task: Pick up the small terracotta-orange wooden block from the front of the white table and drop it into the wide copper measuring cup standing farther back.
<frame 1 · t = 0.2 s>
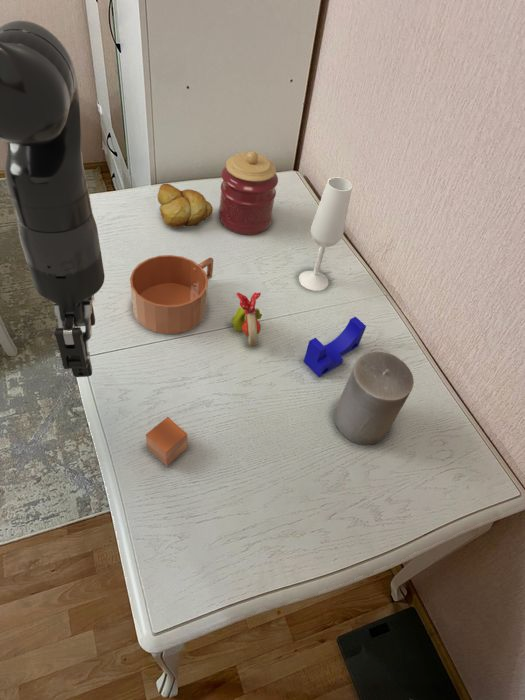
hand: (85, 348, 65), 21 cm above the table, tool pointing down, fingers open, 8 cm apart
pillar candle: (359, 422, 89), on the table
orange block: (167, 448, 80), on the table
champagne flute: (313, 281, 112), on the table
kitchen canister: (244, 220, 123), on the table
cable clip: (333, 357, 98), on the table
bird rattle: (249, 336, 99), on the table
bread roll: (186, 220, 120), on the table
measuring cup: (170, 307, 101), on the table
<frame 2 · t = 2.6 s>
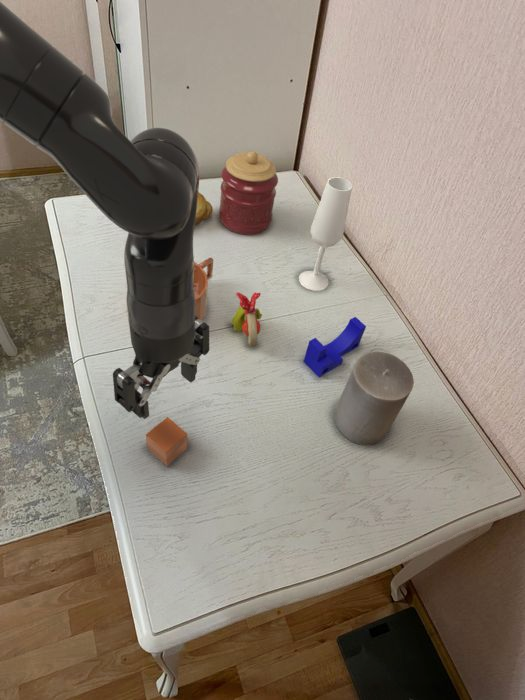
hand: (165, 395, 69), 15 cm above the table, tool pointing down, fingers open, 8 cm apart
nothing on the table moved.
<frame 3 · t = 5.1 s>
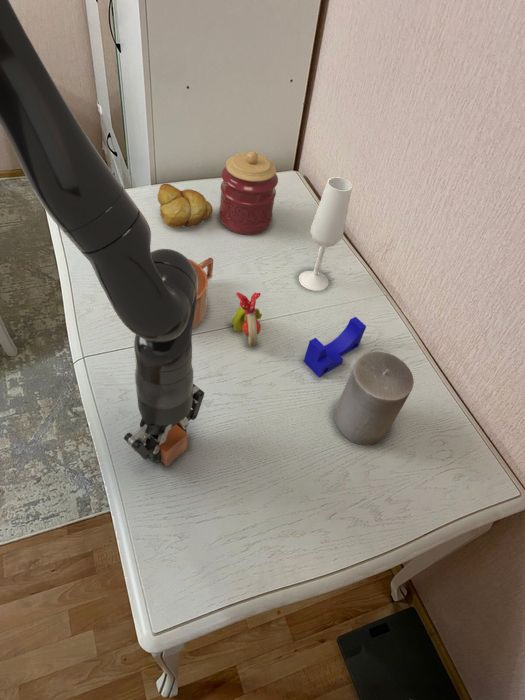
hand: (167, 447, 80), 0 cm above the table, tool pointing down, fingers closed on orange block, 4 cm apart
orange block: (167, 448, 80), on the table, touching gripper
everything else where it was.
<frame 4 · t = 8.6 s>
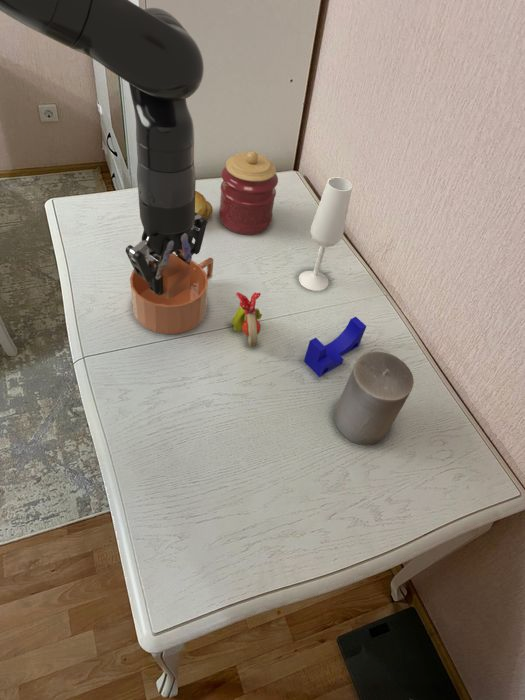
hand: (169, 284, 80), 18 cm above the table, tool pointing down, fingers closed on orange block, 4 cm apart
orange block: (169, 286, 80), point 17 cm above the table, touching gripper
everything else where it was.
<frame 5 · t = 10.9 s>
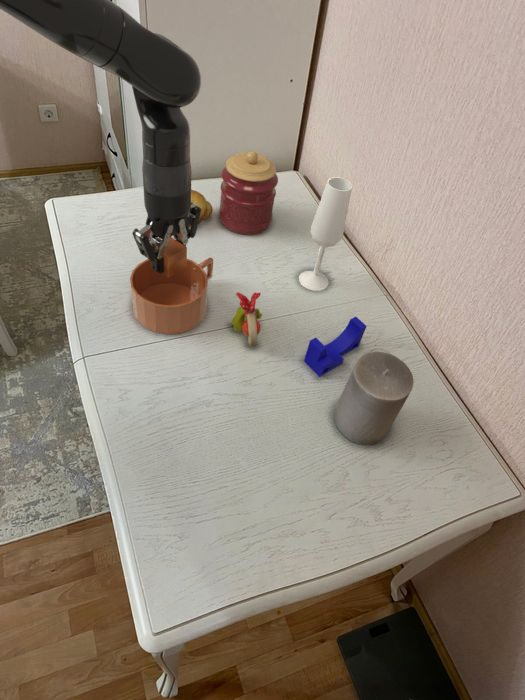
hand: (169, 264, 92), 11 cm above the table, tool pointing down, fingers closed on orange block, 4 cm apart
orange block: (169, 266, 93), point 11 cm above the table, touching gripper
everything else where it was.
when the fingers open (7 cm above the table, at t = 12.5 s): orange block drops 7 cm, resting on measuring cup.
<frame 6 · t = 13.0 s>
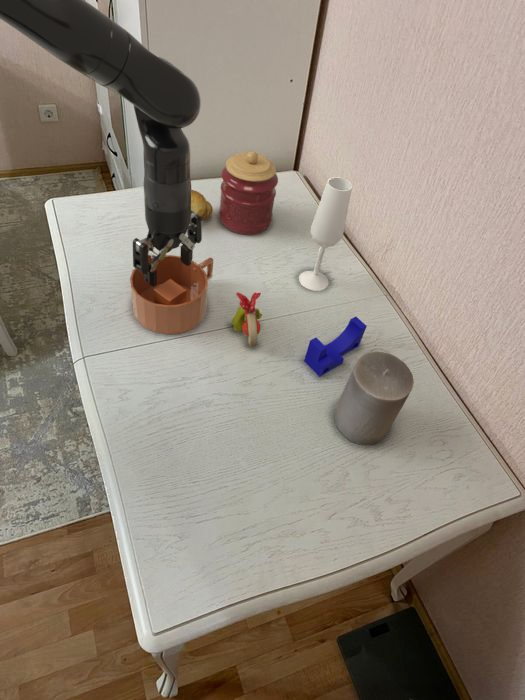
hand: (169, 273, 94), 9 cm above the table, tool pointing down, fingers open, 8 cm apart
orange block: (170, 306, 101), resting on measuring cup
everything else where it was.
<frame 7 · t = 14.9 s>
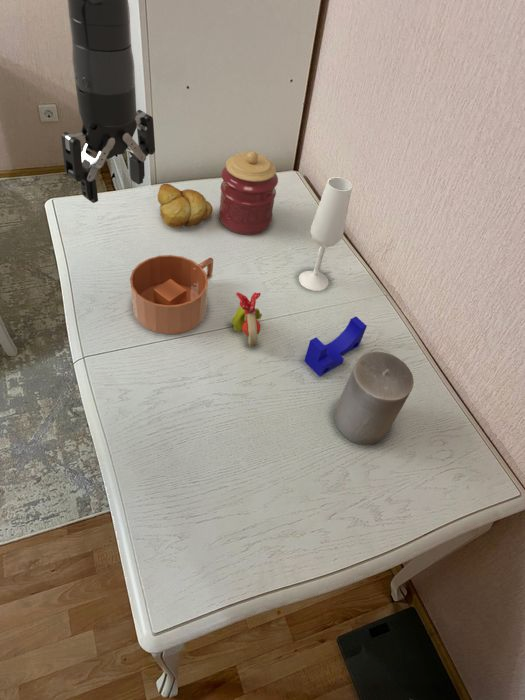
hand: (114, 190, 77), 27 cm above the table, tool pointing down, fingers open, 8 cm apart
nothing on the table moved.
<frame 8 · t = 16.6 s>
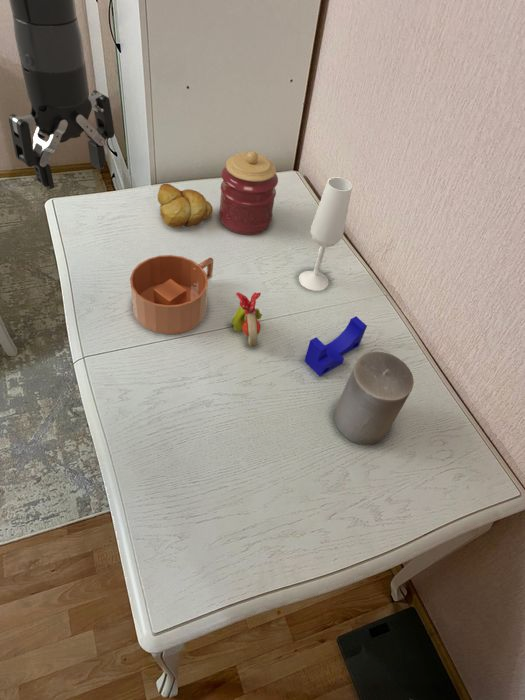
hand: (73, 176, 74), 30 cm above the table, tool pointing down, fingers open, 8 cm apart
nothing on the table moved.
at the end: orange block inside the target area in the measuring cup (0.1 cm from its centre), point 0.4 cm above the measuring cup's base; the gripper is holding nothing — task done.
